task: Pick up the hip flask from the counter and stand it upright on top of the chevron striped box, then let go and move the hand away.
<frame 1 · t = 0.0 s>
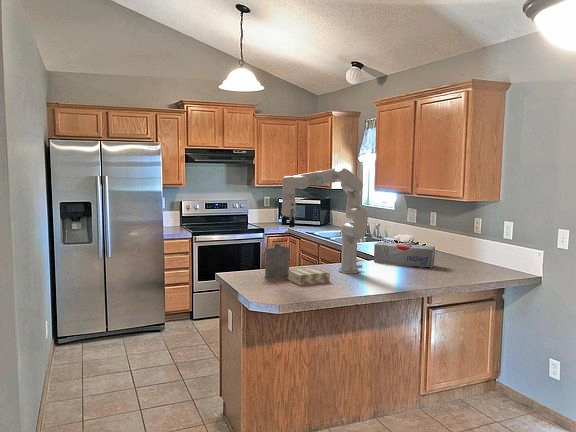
hand: (287, 226, 280), 31 cm above the countertop, tool pointing down, fingers open, 9 cm apart
soda pack: (403, 264, 334), on the countertop
chevron striped box: (308, 281, 278), on the countertop
hip flask: (276, 275, 289), on the countertop
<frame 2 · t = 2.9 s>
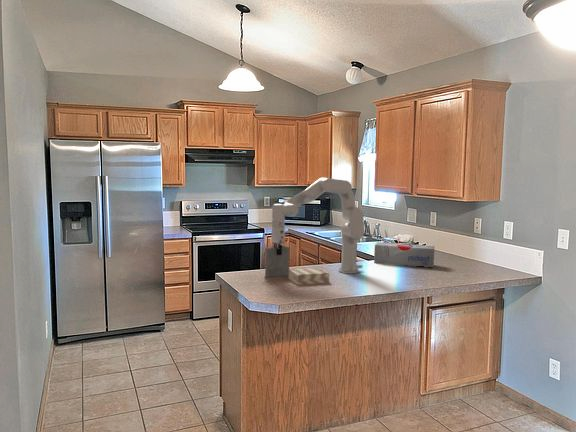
hand: (277, 254, 287), 13 cm above the countertop, tool pointing down, fingers closed on hip flask, 3 cm apart
hip flask: (276, 275, 289), on the countertop, touching gripper
when the fingers open (20 cm above the countertop, at t = 8.4 s): hip flask drops 1 cm, resting on chevron striped box.
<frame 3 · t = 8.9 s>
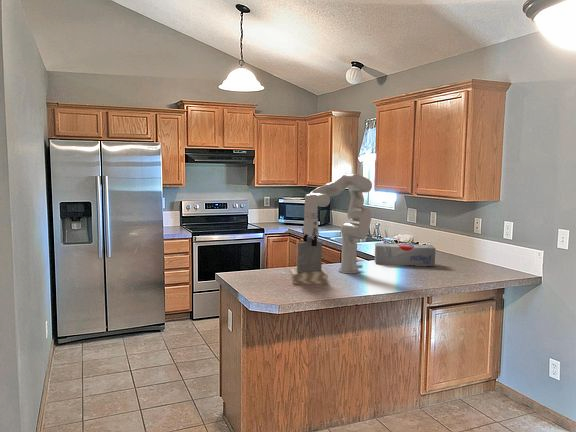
hand: (309, 244, 276), 21 cm above the countertop, tool pointing down, fingers open, 9 cm apart
chevron striped box: (308, 281, 278), on the countertop, touching hip flask
hip flask: (308, 271, 278), point 5 cm above the countertop, touching chevron striped box
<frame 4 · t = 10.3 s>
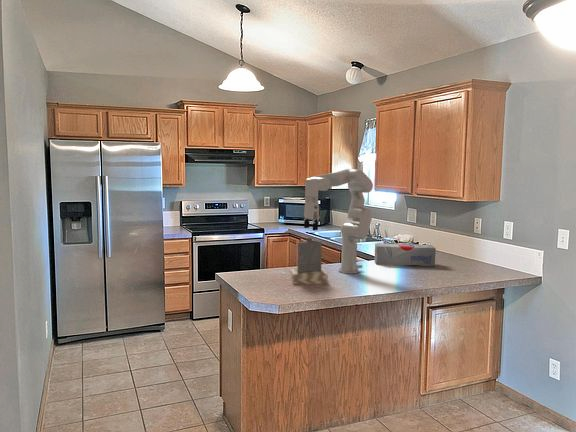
hand: (310, 229, 275), 31 cm above the countertop, tool pointing down, fingers open, 9 cm apart
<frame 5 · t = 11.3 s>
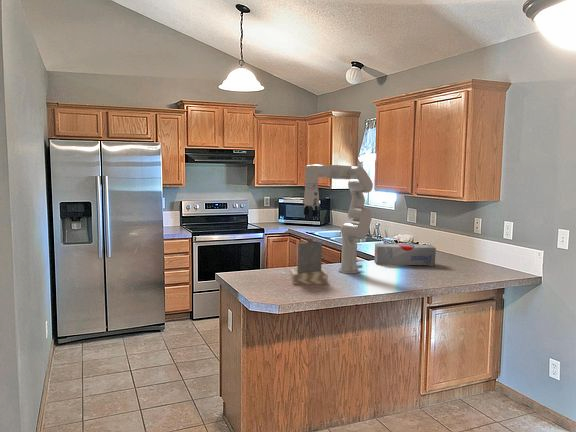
hand: (310, 215, 276), 38 cm above the countertop, tool pointing down, fingers open, 9 cm apart
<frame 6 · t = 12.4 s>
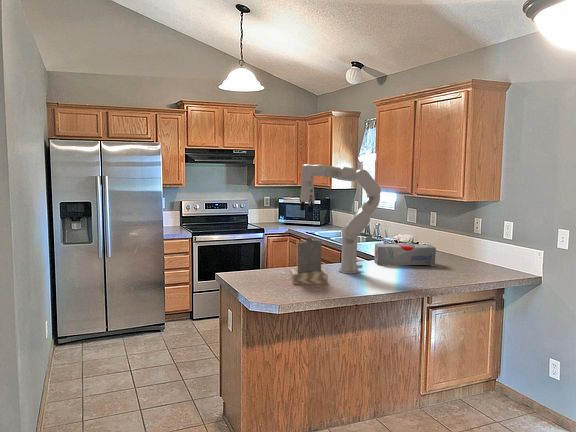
hand: (306, 211, 301), 38 cm above the countertop, tool pointing down, fingers open, 9 cm apart
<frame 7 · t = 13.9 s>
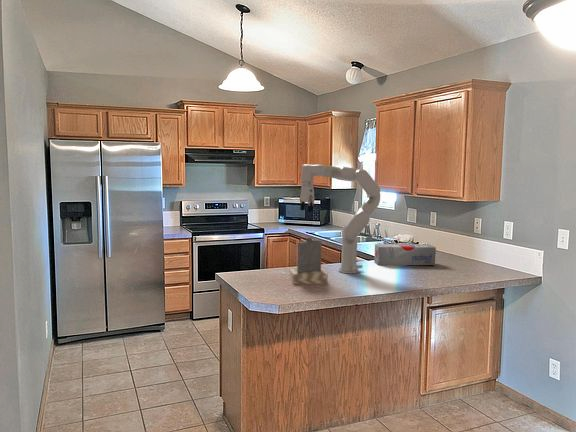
hand: (306, 210, 303), 38 cm above the countertop, tool pointing down, fingers open, 9 cm apart
chevron striped box: (308, 281, 278), on the countertop
hip flask: (308, 271, 278), point 5 cm above the countertop
at the end: hip flask inside the target area on the chevron striped box (0.1 cm from its centre), point 5.9 cm above the chevron striped box's base; hip flask tilted 1°; the gripper is holding nothing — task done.
